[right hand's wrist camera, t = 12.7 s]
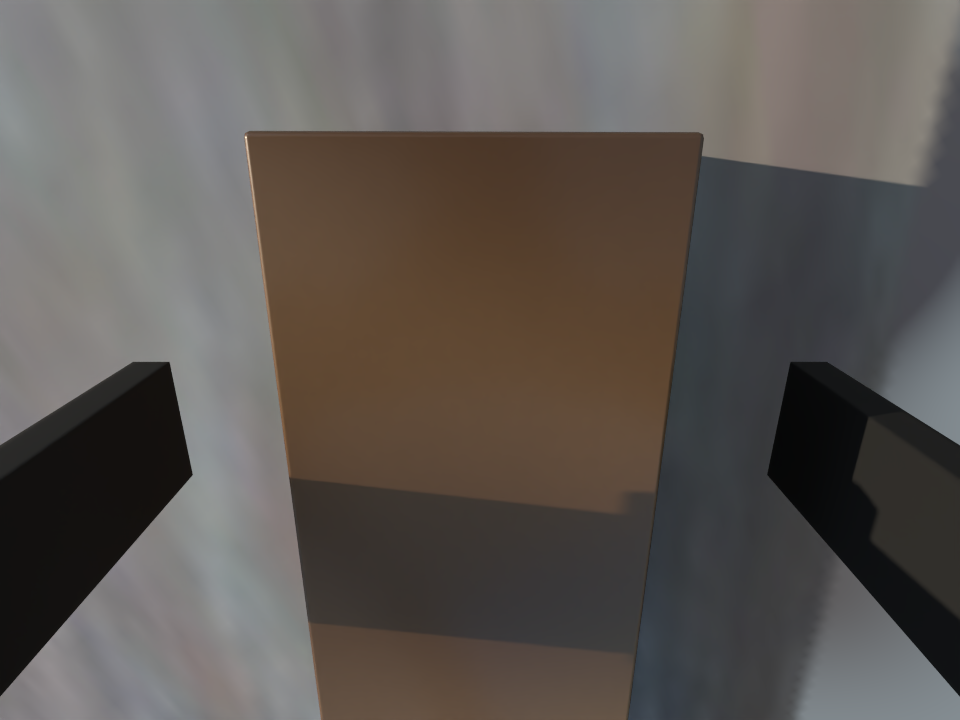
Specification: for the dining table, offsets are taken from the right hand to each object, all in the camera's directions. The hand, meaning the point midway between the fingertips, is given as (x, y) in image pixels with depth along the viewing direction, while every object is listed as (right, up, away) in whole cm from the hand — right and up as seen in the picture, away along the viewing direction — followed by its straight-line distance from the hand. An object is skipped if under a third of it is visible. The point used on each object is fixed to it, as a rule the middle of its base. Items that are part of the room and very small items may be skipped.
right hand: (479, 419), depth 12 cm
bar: (0, -23, +13) cm, 27 cm away
